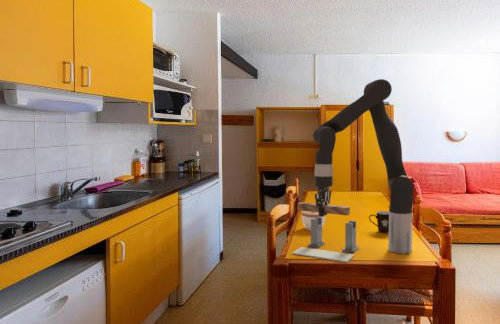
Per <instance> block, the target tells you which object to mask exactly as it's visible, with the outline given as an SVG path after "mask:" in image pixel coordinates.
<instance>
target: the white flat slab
mask: <svg viewBox="0 0 500 324" xmlns="http://www.w3.org/2000/svg"><path fill="white" fill-rule="evenodd" d="M291 254H292V255H295V256H297V255H298V256H303V257H311V258H316V259H322V260H328V261H334V262H341V263H349V261H351V260H352V259H353V258H354V257H355V254H354V253H347V252H338V251H331V250H324V249H319V248H313V247H304V246H301V247H299V248H297V249H296V250H294V251H291Z"/></svg>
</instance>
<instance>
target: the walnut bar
mask: <svg viewBox="0 0 500 324" xmlns="http://www.w3.org/2000/svg"><path fill="white" fill-rule="evenodd" d="M350 209H351V207H350V206H343V205H334V204H333V205H332V204H328V205H325V207H324V213H327V214H329V215H340V216H349V215H350V214H351V213H350ZM297 211H301V212H303V211H310V212H319V207H318V206H316V203H312V202H303V201H302V202H301V201H300V202H298V203H297Z"/></svg>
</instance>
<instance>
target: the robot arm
mask: <svg viewBox="0 0 500 324" xmlns="http://www.w3.org/2000/svg"><path fill="white" fill-rule="evenodd" d="M391 93H392V85H391V83H390V82H389V81H388V80H387V79H385V78H379V79H376V80H373V81H371V82H369V83H367V84H366V85H365V86H364V89H363V94H362V95H361V96H360V97H358V98H357V99H356V100H355V101H353V102H352V103H350V104H349V105H347V106H346V107H344V108H342V110H340V111H339V112H337V114H335V115H334V116H333V117H332V118H331V119H329V120H327V121H325V122H323V123H322V124H321V125H319V126H318V127H317V128H316V129H315V130H314V131H313V134H312V138H313V140H314V142H316V144H319V146H318V147H319V148H318V150H316V151H315V158H314V159H315V162H314V163H315V165H314V183H313V184H314V186H315V187H318V188H317V192H316V193H315V194H314V199H315V204H316V206H318V207H319V216H322V217H323V216H324V215H325V216H327V215H328V213H324V207H325V205H331V198H332V197H331V196H332V190H330V187H333V182H334V179H333V178H334V177H333V175H334V170H333V169H334V168H333V153H334V150H335V144H336V139H337V138H336V136H337V135H336V134H337V133H341V132H343V131H345V130H346V129H347V128H349V126H351V125H352V124H353V123H354V122H355V121H357V120H358V119H359V118H360V117H361V116H362V115H363V114H365V113H366V112H368V111H369V113H370V117H371V120H372V123H373V127H374V131H375V136H376V140H377V145H378V148H379V151H380V154H381V157H382V159H383V162H384V165H385V170H386V175H387V181H388V189H389V190H390V201H389V206H388V212H389V233H388V243H387V245H388V251H389V252H391V253H395V254H402V255H403V254H405V253H408V255H409V254H411V252H412V251H413V229H412V218H413V217H412V215H413V214H412V211H413V205H414V183H413V180H412V179H410V178H409V177H408V175H407V173H406V169H405V166H404V162H403V151H402V149H403V148H402V147H403V146H402V141H401V136H400V133H399V130H398V128H397V126H396V124H395V123H394V121H393V119H392V118H391V116H390V115H389V114H388V112H387V109H386V105H385V100H387V99H388V98H389V97H390V96H391ZM411 250H412V251H411Z"/></svg>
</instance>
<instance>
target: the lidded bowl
mask: <svg viewBox="0 0 500 324" xmlns="http://www.w3.org/2000/svg"><path fill="white" fill-rule="evenodd" d="M315 217H321V218H322V228H323V227H324V225H325V222H326V215H324V216H323V217H322V216H319V212H310V211H301V219H302V224H303V226H304V227H305V228H306V230H307V231H310V232H311V219H315Z"/></svg>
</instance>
